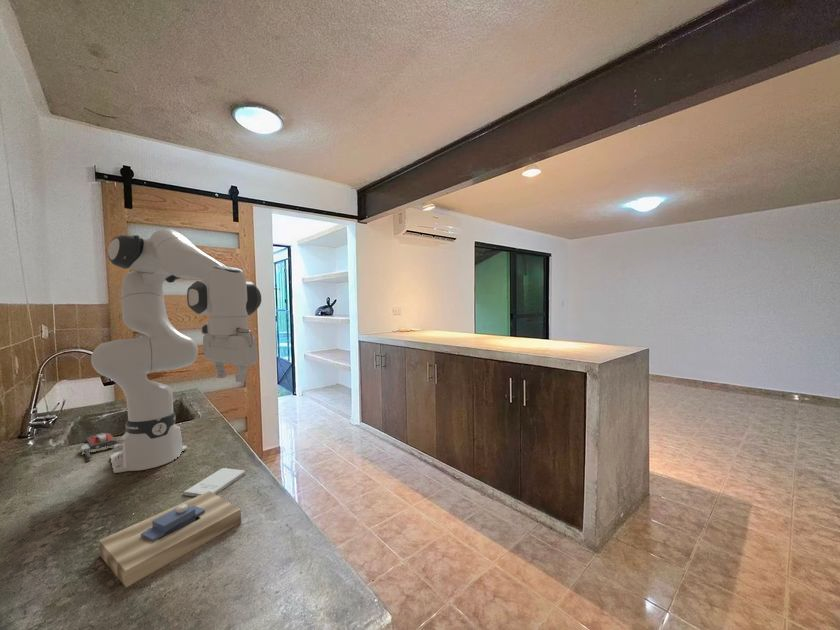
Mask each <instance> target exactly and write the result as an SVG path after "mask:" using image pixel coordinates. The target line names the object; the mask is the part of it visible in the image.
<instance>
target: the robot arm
mask: <svg viewBox="0 0 840 630" xmlns="http://www.w3.org/2000/svg"><path fill="white" fill-rule="evenodd" d="M107 253H108V254H107V257H108V259H109V261H110V262H111V264H112V265H114V266H117V267H118V268H121V269H125V270H126V269H129V270H131V271H129V272H127V273H126V274H125V275H124V276H123V279H122V283H121V290H120V303H121V304H120V305H121V314H122V315H121V316H122V322H123V324H124V325H125V326H126V327H127V328H129V329H130V330H131V331H134V332H137V333H140V334H143V335H145V336H146V337H135V338H122V339H115V340H110V341H106V342H102V343H100V344H98V345H97V346H96V347H95V348H94V350H93V352H92V354H91V357H90V363H91V366H92V368H93V369H94V371H96V372H97V373H98V374H99V375H100V376H103V377H106V378H107V379H110V380H111V381H113V382H114V383H116V384H117V385H118V386H119V388H121V390H122V391H123V394H124V397H125V400H126V406H127V420H126V423H125V433H124V434H123V435H122V436H121V437H120V438H119V440H118V442H119V443H117V444H116V445H113V448H112V451H113V453H112V454H111V455H109V459H110V458H111V461H110V463H112V465H111V469H112V468H113V469H112V472H113V473H114V474H118V473H124V472H136V471H144V470H149V469H153V468H157V467H160V466H163V465H166V464H168V463H171V462H173V461H174V459H175V460H176V459H178V458H179V457H180V456H181V455H182V453H183V452H182V451H184V450H185V449H186V448H187V449H188V446H187V445H184V444H183V441H182V440H183V439H182V432H181V427H180V426H179V425H177V424H176V413H175V411H174V399H173V396H174V392H173V389H172V388H171V387H170V386H169V385H167V384H164V383H163V382H162V383H161V382H158V381H154V380H151V379H149V378H148V376H147V375H148V374H150V373H155V372H164V371H171V370H172V371H173V370H174V371H175V370H178V369H181V368H185V367H188V366H192V365H193V364H194V363H195V362H196V361H197V358H198V355H199V346H198V344H197V342H196V341H195V340H194V339H193V338H191V337H190V336H187V335H186V334H184V333H181V332H180V331H179V330H177V329H176V328H175V327H174V326H173V324H172V323H171V322H170V319H169V317H168V313H167V309H166V303H165V297H164V291H163V285H164V282H165V281H166V282H167V283H169V284H170V283H174V282H175V281H176V280H179V279H188V280H196V281H194V282H193V283H192V284H191V285H190V286H189V287H188V288H187V291H186V293H187V294H186V299H187V305H188V307H189V309H191V310H192V311H193V312H194V313H196V314H197V315H203V316H208V318H209V320H208V321H207V322H205V324H203V325H202V326H201V327H200V332H201V334H202V335H203V337H202V347H203V355H204V358H205V359H206V361H211V362H213V366H214V369H215V372H216V378H217V379H224V378H226V377H227V371H226V370H225V366H224V365H225V364H229V365H235V366H236V368H237V370H238V371H237V374H235V382H238V383H245V381H246V374H247V372H248V370H249V366H254V365H256V364H257V362H258V360H259V356H258V346H257V341H256V340H257V339H256V338H255V336H254V333H252V332H251V329H250V328H249V316H251V315H252V314H253V313H255V312H256V311H257V310H258V309H259V307H260V306H261V304H262V293H261V292H260V290H259V288H258V287H257V286H256V285H255V284H254V283H253V282H252V281H247V280H246V275H245V272H244V271H243V270H242V269H240V268H238V267H233V266H226V265H225V264H224V263H222V262H220V261H219V260H217V259H215V258H213V257H212V256H210V255H208V254H207V253H205V252H204V251H203V250H201V249H200V248H198V247H197V246H195V244H194V243H193V242H192V241H191V240H190V239H189V238H187V236H185V235H183V234H182V233H180V232H178V231H177V230H175V229H171V228H161V229H157V230H156V231H154V232H153V233H152V234H151V235H150V237H149V238H148V239H147V238H145V237H140V236H139V235H126V234H121V235H118V236H115V237H114V238H112V240H111V241H110V244H109V245H108V248H107ZM185 451H186V450H185ZM185 451H184V452H185ZM181 452H182V453H181ZM180 454H181V455H180ZM177 457H178V458H177Z"/></svg>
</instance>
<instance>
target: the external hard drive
mask: <svg viewBox="0 0 840 630" xmlns="http://www.w3.org/2000/svg"><path fill="white" fill-rule="evenodd" d="M246 473H247V472H246V470H243V469H236V468H226V467H222V468H220V469H219V470H217V471H215V472H214V473H212V474H210V475H209V476H207V477H205V478H204V479H202V480H201V481H198V483H195V484H194V485H192V486H191V487H189V488H188V489H186V490H184V491H183V493H182V495H183V496H188V497H197V496H199V495H201V494H204V493H206V492H208V491H210V492H212V493H214V494H215V495H217V494H219V493H220V492H221V491H223V490H225V489H226V488H227V487H230V485H232V484H234V482H236V481H238V480H239V479H240V478H242V477H243V476H245V475H246Z"/></svg>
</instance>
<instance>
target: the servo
mask: <svg viewBox="0 0 840 630" xmlns="http://www.w3.org/2000/svg"><path fill="white" fill-rule="evenodd" d="M204 512H205V510H204V509H202V508H199V507H196V506H194V505H193V506H191V507H189V506H188V505H187V504H183V505H180V506H178V507H177V508H176V509H174V510H172V511H171V512H169V513H167V514H165V515H163V516H161V517H159V518H157V519H155V520H153V521H152V526H153V527H152V528H150V529H148V530H147V531H145V532H143V533H141V537H143V538H145V539H147V540H149V541H151V542H154V541H156V540H157V539H158V540H159V539H161V538H163V537H165V536H167V535H169V534H171V533H173V532H175V531H177V530H179V529H181V528H183V527H185V526H187V525H189V524H191V523H193V522H195V521H196V520H195V518H196V517H197V516H199V515H201V514H203V513H204Z"/></svg>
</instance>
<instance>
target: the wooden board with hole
mask: <svg viewBox="0 0 840 630" xmlns="http://www.w3.org/2000/svg"><path fill="white" fill-rule="evenodd" d="M183 504H187V505H188V506H189V507H191V506H193V505H194V506H196V507H199V508H202V509H204V510H205V512H204V513H203V514H201V515H199V516H197V517H196V518H195V520H196V521H195V522H193V523H191V524H189V525H187V526H185V527H183V528H181V529H179V530H177V531H175V532H173V533H171V534H169V535H167V536H165V537H163V538H161V539H159V540H158V539H157V540H156V541H154V542H151V541H149V540H147V539H145V538H143V537H141V533H143V532H145V531H147V530H148V529H150V528H152V527H153V526H152V521H153V520H155V519H157V518H159V517H161V516H163V515H165V514H167V513H169V512H171V511H172V510H174V509H176V508H177V507H178V506H180V505H183ZM241 523H242V509H241V508H239V507H237V506H236V505H235V504H232V503H231V502H229V501H228V500H226V499H224V498H222V497H221V496H219V495H217V494H216V495H215V494H214V493H212V492H210V491H208V492H206V493H204V494H201V495H199V496H194V497H193V498H191V499H188V500H185V501H184V502H182V503H180V504H177V505H174V506H173V507H170V508H169V509H166V510H164V511H161V512H159V513H157V514H155V515H153V516H150V517H148V518H146V519H144V520H142V521H140V522H138V523H135V524H132V525H131V526H128V527H126V528H123V529H121V530H119V531H117V532H115V533H113V534H110V535H108V536H106V537H104V538H102V539H100V540H99V541H98V544H99V556H100V558H101V559H102V560H103V562H104V563H105V564H106V565H107V566H108V567H109V569H110V570H111V571H112V572H113V574H114V575H115V576H116V578H117V579H118V580H119V581H120V582H121V583H122V585H123V586H124V587H125V588H128V587H130V586H132V585H133V584H135V583H137V582H138V581H141V580H142V579H144V578H146V577H148V576H149V575H151V574H154V572H156V571H159V570H160V569H162V568H163V567H165V566H166V565H168V564H170V563H172V562H174V561H175V560H178V559H180V557H183V556H184V555H186V554H188V553H190V552H191V551H193V550H195V549H197V548H199V547H200V546H202V545H204V544H206V543H207V542H210V541H211V540H213V539H214V538H216V537H218V536H220V535H221V534H224V533H225V532H227V531H228V530H230V529H232V528H233V527H235V526H238V525H240V524H241Z"/></svg>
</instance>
